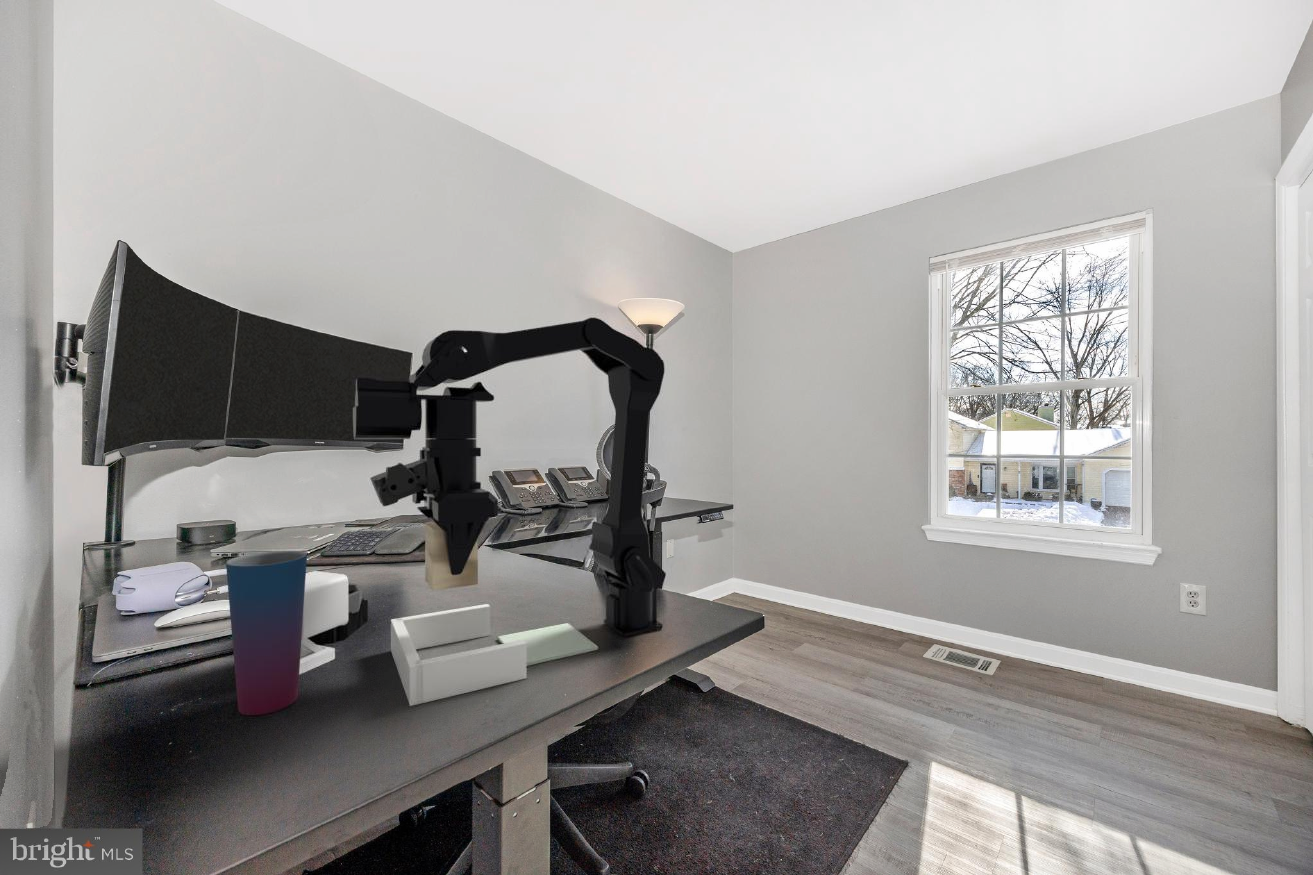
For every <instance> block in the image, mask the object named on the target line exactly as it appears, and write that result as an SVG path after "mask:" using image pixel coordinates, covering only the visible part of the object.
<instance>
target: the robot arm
mask: <svg viewBox="0 0 1313 875" xmlns="http://www.w3.org/2000/svg"><path fill="white" fill-rule="evenodd" d="M575 351H581V352H582V353H583V354H584V355H586V356H587V358H588V359H589V360H590V362H592V363H593V364H594V366H595V367H596V368H597V369H598V370H600V371H601V372H603V373H604V374H605V375H607V382H608V391H609V396H610V399H611V402H612V403H613V407H614V410H615V417H614V431H613V444H612V455H611V468H610V479H609V480H610V482H609V491H608V492H609V493H608V506H607V511H606V513H605V515H604V517H603V518H602V520H601V522H600V521H599V522H598V521H595V520H594V521H593V522H592V523H591V524H592V525H591V532H592V533H591V534H592V536H591V537H592V538H591V542H590V545H589V548H588V549H589V550H590V551H592V555H593V556H592V557H593V560H594V562H595V563H596V565H598V566H599V568H601V569H602V571H603V574H604V576H605V579H606V580H611V581H612V582H610V583H608V594H607V595H606V598H605V609H606V610H605V618H604V619H603V623H604V624H605V625H606V626H608V627H609V628H611V629H612V630H613V631H615V632H616V633H618V634H619V635H621V636H622V637H628V636H633V635H638V634H643V633H647V632H651V631H650V630H652V631H654V630H653V629H656V630H658V629H657V628H661V629H663V628H664V625H663V623H662V622H660V621H658V590H659V589H662V588H663V586H664V583H665V579H666V575H667V574H666V571H664V570H663V569H662V568H661V567H660V566H659V565H658V564H657V562H655V561H654V560H653V559H652V557H651V550H650V537H649V532H648V529H647V527H646V523H645V521H644V518H643V517H644V516H643V513H642V509H643V495H644V483H645V482H644V481H645V470H646V456H647V443H648V430H649V421H650V420H649V419H650V412H651V411H652V409H653V407H654V405H655V403H656V401H657V399H658V397H659V396H660V394H661V393H660V392H661V388H662V385H663V380H664V375H665V371H666V370H665V363H664V359H663V358H661V356H660V355H659V353H658V352H657V351H656V350H654V349H653V348H650V347H645V346H644V345H642V344H641V343H640V342H638V340H636V339H634V338H632V337H630V336H628V335H626V334H624V333H622V332H620V331H618V330H617V329H615V328H613V327H612V326H610V325H609V324H608V323H606V322H605V321H604V320H602V319H601V318H598V317H588V318H586V319H584V320H579V321H573V322H567V323H560V324H553V325H547V326H541V327H534V328H528V329H522V330H515V331H509V332H491V331H484V330H483V331H482V330H461V329H460V330H459V329H458V330H454V329H453V330H447V331H444V332H442V333H440V334H439V335H437V336H436V337H434V338H433V339H432V340H430V341H429V342H428V343H427V344H426V345H425V347H424V348H423V351H422V355H421V356H422V357H421V360H422V361H421V362H422V364H421V366H420V367H418V368H417V369H416V371H415V372H414V373H413V374H410V375H409V380H407V381H406V380H382V379H376V378H373V377H364V376H363V377H362V376H361V377H358V378H356V380H355V394H354V396H355V397H354V406H353V407H352V427H353V428H352V429H353V431H352V432H353V439H354V440H411V437H412V433H413V431H420V430H421V428H422V423H423V421H422V420H423V410H422V409H423V408H422V407H423V406H422V401H425V404H424V405H425V407H424V409H425V415H424V416H425V418H424V420H425V422H424V423H425V427H424V429H425V439H424V440H425V446H422V447H421V449H420V450H419V459H418V460H415V461H413V462H410V463H407V464H403V463H402V462H398V463H397V464H395V465H392V466H387V467H386V468H385V471H384V472H381V473H378V474H375V475H374V476H372V477H370V481H371V484H372V486H373V489H374V491H375V493H376V496H377V498H378V501H379V503H380V504H381V505H382V507H387V506H391V505H394V504H397V503H398V502H399V500H402V499H405V498H407V497H409V496H412V497H411V498H412V499H411V500H412V503H414V504H416V505H417V504H418V505H419V504H421V502H423V501H424V506H417V508H416V509H417V510H418V512H420V513H421V514H423V515H424V516H425V517H426V518H427V519H428V520H429V521H430V522H434V523H435V524H436V525H437V526H439V527H440V528H441V529H442V530H443V532H444V538H445V544H446V549H447V555H448V561H449V566H450V571H451V574H452V575H459V574H461V573H462V571H463V569H464V567H465V565H466V563H467V560H468V558H469V556H470V554H471V552H472V549H473V547H474V545H475V543H476V541H477V539H478V540H479V536H480V534H481V533H482V531H483V528H484V526H485V525H486V523H487V522H488V521H489V518H491V519H493V518H496V517H499V500H498V498H497V497H496V496H495V495H494V494H492V492H490V491H488V490H486V489H483V488H482V487H481V486H482V483H481V481H477V457H481V455H482V448H481V447H478V446H477V403H487V402H494V400H495V395H493V394H492V393H491V392H489V391H488V390H487V389H486V388H485V387H484V385H483V383H482V381H478V382H474V383H473V384H472V385H471V386H470V387H461V386H460V387H457V386H456V387H455V386H446V387H445V388H444V390H443V393H442V394H439V395H438V394H418V393H417V391H421V392H422V391H426V390H430V389H432V388H436V387H437V386H439V385H440V384H455V383H458V382H461V381H464V380H467V379H470V378H472V377H475V376H477V375H478V376H479V375H480V374H483V373H485V372H488V371H490V370H493V369H495V368H498V367H501V366H503V365H506V364H511V363H517V362H521V361H522V362H523V361H526V360H527V361H528V360H534V359H539V358H544V357H549V356H555V355H559V354H565V353H570V352H575ZM662 627H663V628H662ZM646 631H647V632H646Z"/></svg>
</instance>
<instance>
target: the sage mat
mask: <svg viewBox="0 0 1313 875" xmlns="http://www.w3.org/2000/svg"><path fill="white" fill-rule="evenodd" d="M497 640H498V641H499V642H500V643H501V644H505V643H510V642H515V641H520V640H524V641H525V642H526V643H527V644H526V667H527V666H531V665H536V664H540V663H544V662H548V661H549V662H550V661H554V660H558V659H562V658H563V659H564V658H566V657H572V656H575V655H581V654H585V653H589V652H593V651H597V650H599V647H598V645H596V643H594V642H592V641H591V639H588V637H586V636H585V635H583V634H582V633H581V632H580V631H578V630H577V629H575V627H574V626H573V625H571V624H570V623H568V622H566V623H562V624H555V625H551V626H546V627H545V626H544V627H540V628H536V629H529V630H524V631H519V632H514V633H509V634H505V635H504V634H503V635H498V637H497Z"/></svg>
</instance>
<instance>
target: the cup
mask: <svg viewBox="0 0 1313 875" xmlns="http://www.w3.org/2000/svg"><path fill="white" fill-rule="evenodd" d="M307 561H308V554H307V552H305V551H300V550H273V551H261V552H256V553H255V552H254V553H250V554H244V555H240V556H236V557H233V558H230V559H228V560H227V561H226V562H225V567H226V568H225V569H226V579H227V580H226V581H227V592H228V604H229V615H230V626H231V638H232V639H231V640H232V641H231V642H232V648H233V649H232V650H233V652H232V653H233V661H234V662H233V663H234V675H235V687H236V697H237V707H238V708H237V710H238V713H240V714H242V715H245V716H246V715H247V716H259V715H266V714H269V713H274V712H277V711H279V710H282V709H285V708H286V707H289V706H291V705H292V704H293V703H294V702H296V701H297V699H298V696H299V683H300V682H299V680H300V675H299V669H300V654H301V639H302V623H303V608H304V593H305V578H306V573H307V564H308V563H307Z"/></svg>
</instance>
